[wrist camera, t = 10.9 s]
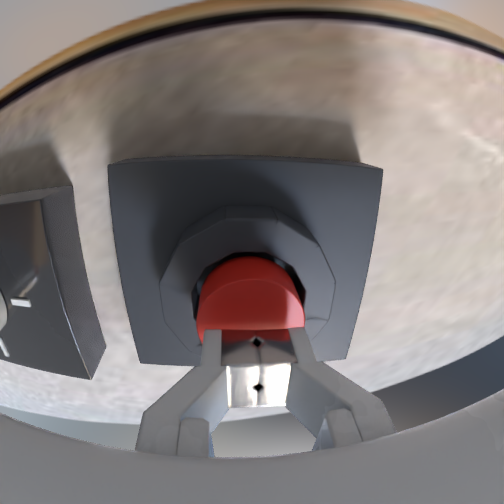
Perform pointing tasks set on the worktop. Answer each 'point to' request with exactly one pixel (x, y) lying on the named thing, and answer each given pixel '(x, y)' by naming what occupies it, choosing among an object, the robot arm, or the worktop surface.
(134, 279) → the block
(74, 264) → the hob knob base
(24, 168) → the worktop surface
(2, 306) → the knob
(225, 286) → the button
